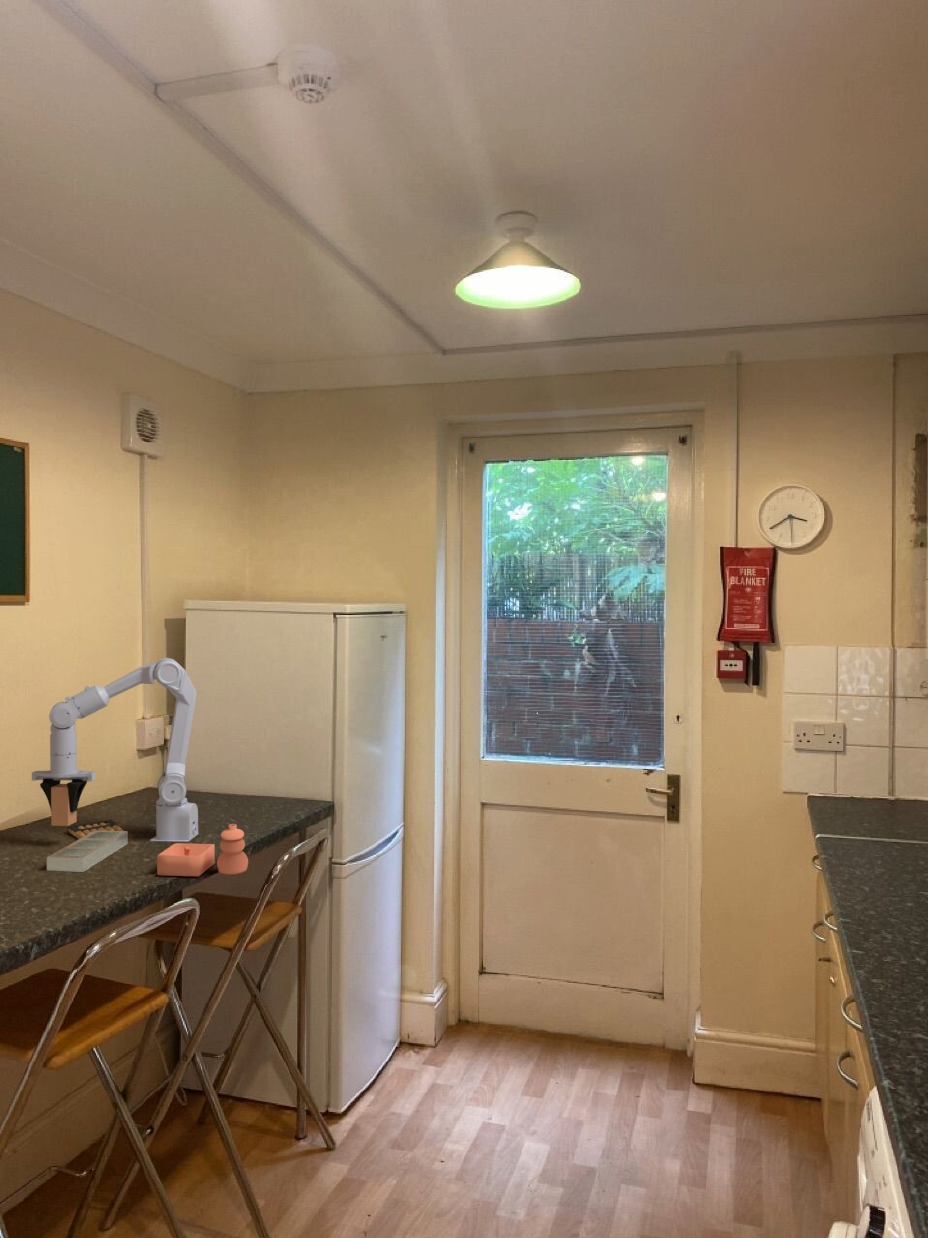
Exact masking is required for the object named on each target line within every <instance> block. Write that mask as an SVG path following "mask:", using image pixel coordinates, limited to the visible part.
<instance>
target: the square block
mask: <svg viewBox="0 0 928 1238" xmlns="http://www.w3.org/2000/svg"><path fill="white" fill-rule="evenodd" d="M77 811H78V809H77V810H76V811H74V812H70V798H69V791H68V787H67V783H60V784H58V785H55V786H53V787H51V809H50V812H51V813H50V814H51V816H50V817H51V826H52V827H68V826H72V825H73V824H75V823H77V817H78V816H77Z"/></svg>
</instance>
